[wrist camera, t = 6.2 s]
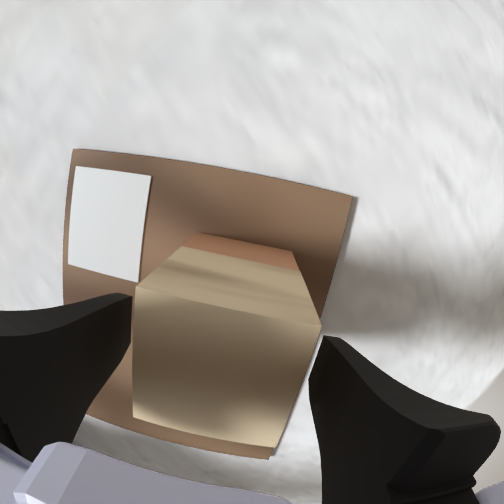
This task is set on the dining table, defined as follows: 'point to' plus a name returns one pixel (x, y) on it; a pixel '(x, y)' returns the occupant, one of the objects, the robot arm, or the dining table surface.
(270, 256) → the terracotta base block
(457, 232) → the dining table surface
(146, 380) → the maple block
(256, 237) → the build board
